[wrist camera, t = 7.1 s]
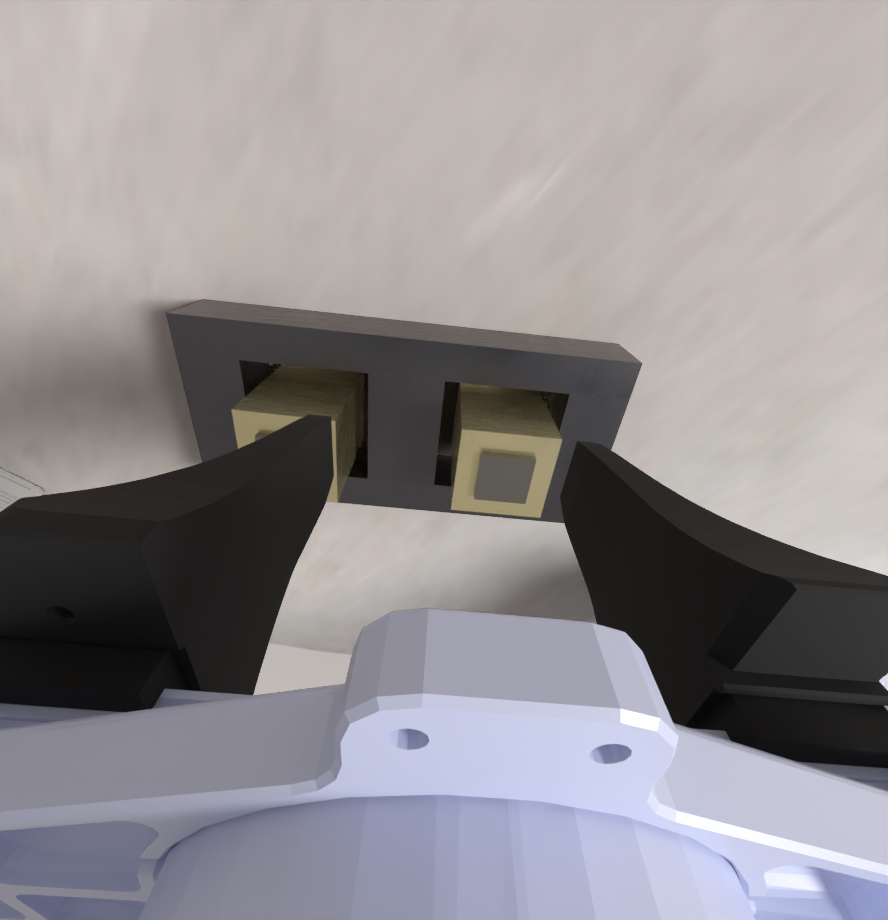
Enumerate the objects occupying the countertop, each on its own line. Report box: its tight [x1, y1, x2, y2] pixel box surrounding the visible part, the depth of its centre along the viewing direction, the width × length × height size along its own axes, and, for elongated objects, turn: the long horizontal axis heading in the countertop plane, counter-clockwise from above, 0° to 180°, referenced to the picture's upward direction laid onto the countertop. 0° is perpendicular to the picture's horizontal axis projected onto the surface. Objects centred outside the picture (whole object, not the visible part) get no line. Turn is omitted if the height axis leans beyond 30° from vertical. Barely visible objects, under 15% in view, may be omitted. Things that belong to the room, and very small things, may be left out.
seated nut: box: [451, 383, 562, 518], centre depth 20 cm, size 4×4×6 cm
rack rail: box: [166, 299, 642, 523], centre depth 21 cm, size 20×9×3 cm, turn 84°
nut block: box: [231, 365, 364, 503], centre depth 19 cm, size 4×4×6 cm
